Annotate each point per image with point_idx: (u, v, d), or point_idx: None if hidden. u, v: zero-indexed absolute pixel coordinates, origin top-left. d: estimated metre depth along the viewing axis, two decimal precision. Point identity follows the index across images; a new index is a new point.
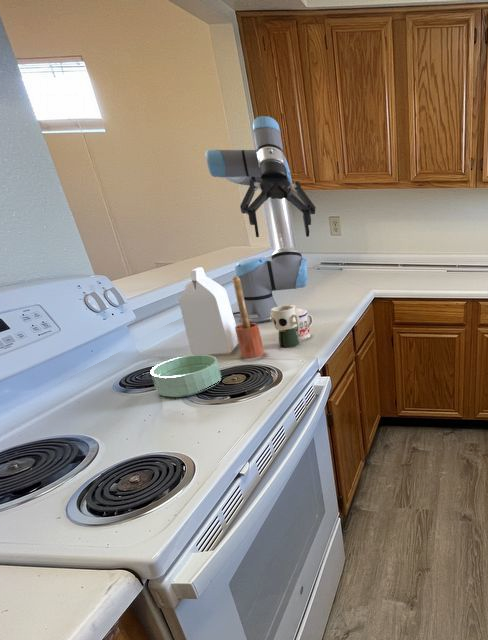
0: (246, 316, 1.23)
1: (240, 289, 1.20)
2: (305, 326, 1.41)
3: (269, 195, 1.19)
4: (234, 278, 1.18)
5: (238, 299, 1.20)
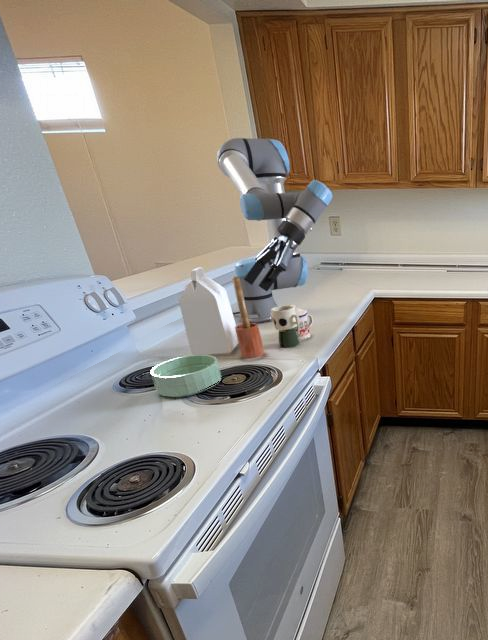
0: (246, 316, 1.23)
1: (240, 289, 1.20)
2: (305, 326, 1.41)
3: None
4: (234, 278, 1.18)
5: (238, 299, 1.20)
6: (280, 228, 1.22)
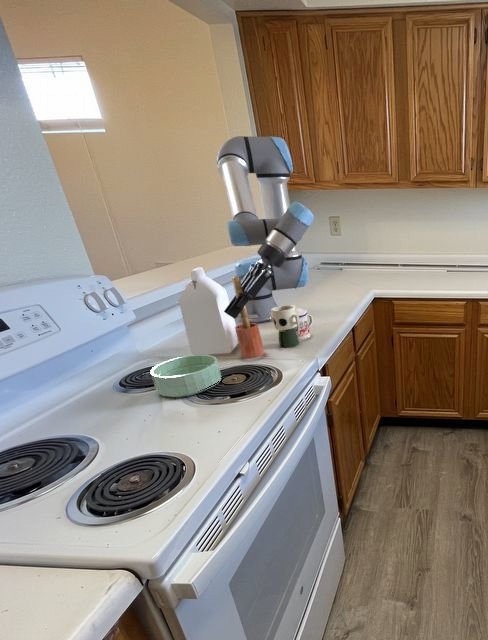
0: (246, 316, 1.23)
1: (240, 289, 1.20)
2: (305, 326, 1.41)
3: None
4: (234, 278, 1.18)
5: None
6: (260, 251, 1.20)
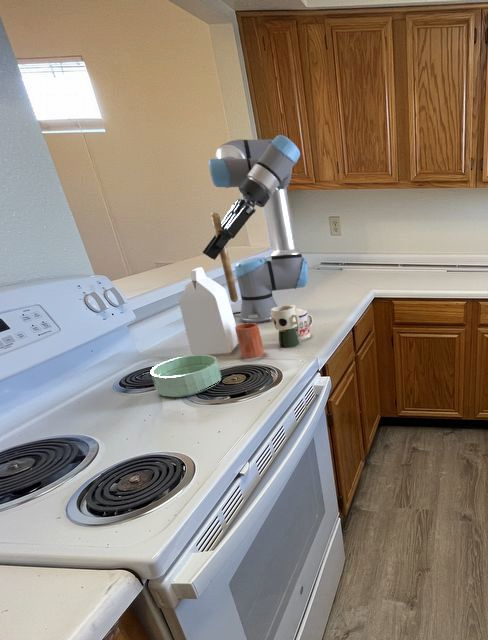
0: (227, 258, 1.14)
1: (220, 227, 1.11)
2: (305, 326, 1.41)
3: None
4: (213, 214, 1.09)
5: None
6: (241, 186, 1.11)
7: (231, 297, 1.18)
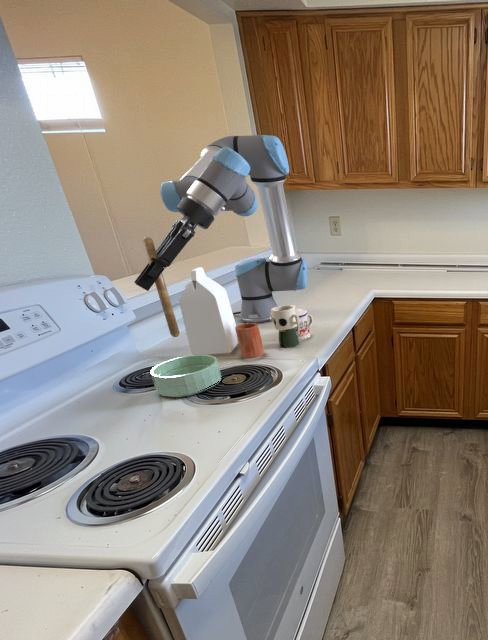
0: (163, 288, 0.99)
1: (153, 253, 0.96)
2: (305, 326, 1.41)
3: None
4: (144, 239, 0.94)
5: None
6: (178, 206, 0.96)
7: (171, 332, 1.03)
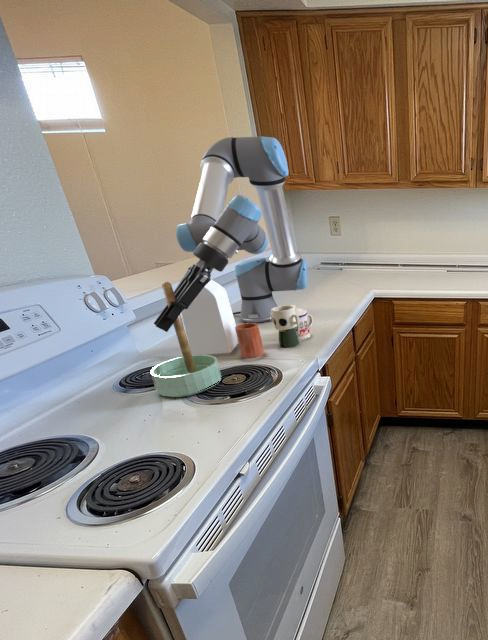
0: (181, 328, 1.05)
1: (172, 297, 1.02)
2: (305, 326, 1.41)
3: None
4: (164, 284, 1.00)
5: None
6: (195, 252, 1.02)
7: (187, 368, 1.09)
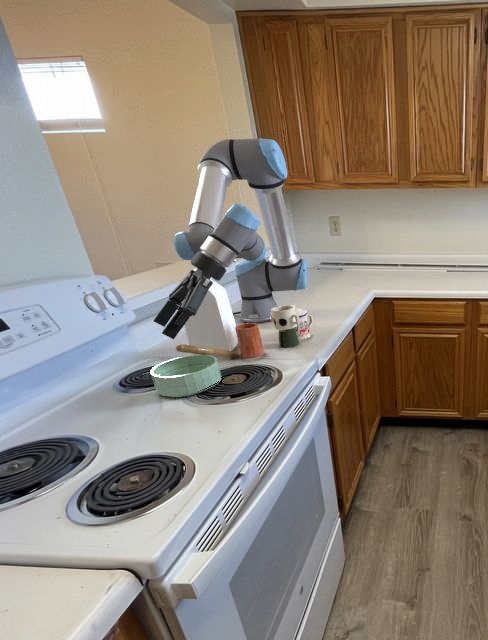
0: (214, 350, 1.17)
1: (232, 353, 1.25)
2: (305, 326, 1.41)
3: None
4: None
5: (223, 350, 1.23)
6: (192, 262, 1.01)
7: None
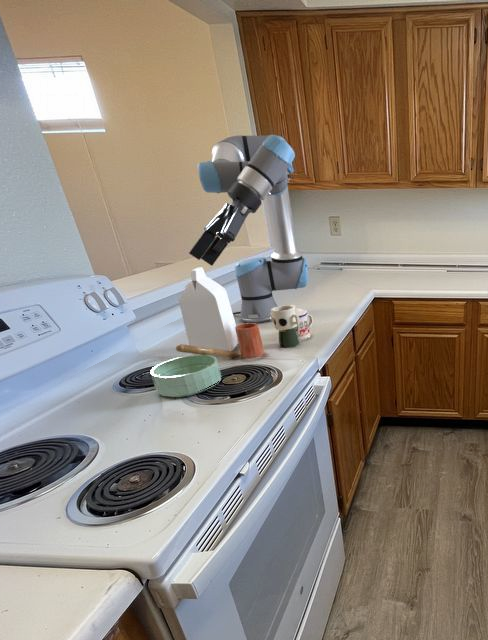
0: (214, 350, 1.17)
1: (232, 353, 1.25)
2: (305, 326, 1.41)
3: None
4: None
5: (223, 350, 1.23)
6: (230, 191, 1.02)
7: None
